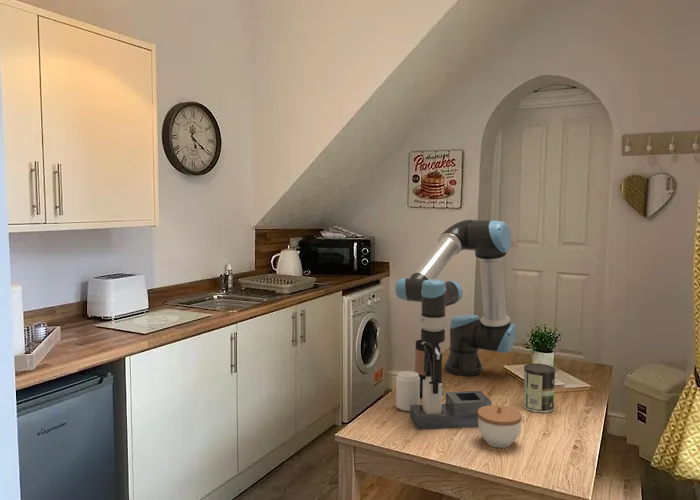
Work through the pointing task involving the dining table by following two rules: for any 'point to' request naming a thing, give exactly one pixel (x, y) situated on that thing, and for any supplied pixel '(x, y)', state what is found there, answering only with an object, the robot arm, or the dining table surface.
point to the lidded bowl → (499, 425)
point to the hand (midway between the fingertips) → (432, 399)
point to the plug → (426, 405)
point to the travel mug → (420, 363)
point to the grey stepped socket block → (452, 411)
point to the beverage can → (407, 390)
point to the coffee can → (539, 388)
